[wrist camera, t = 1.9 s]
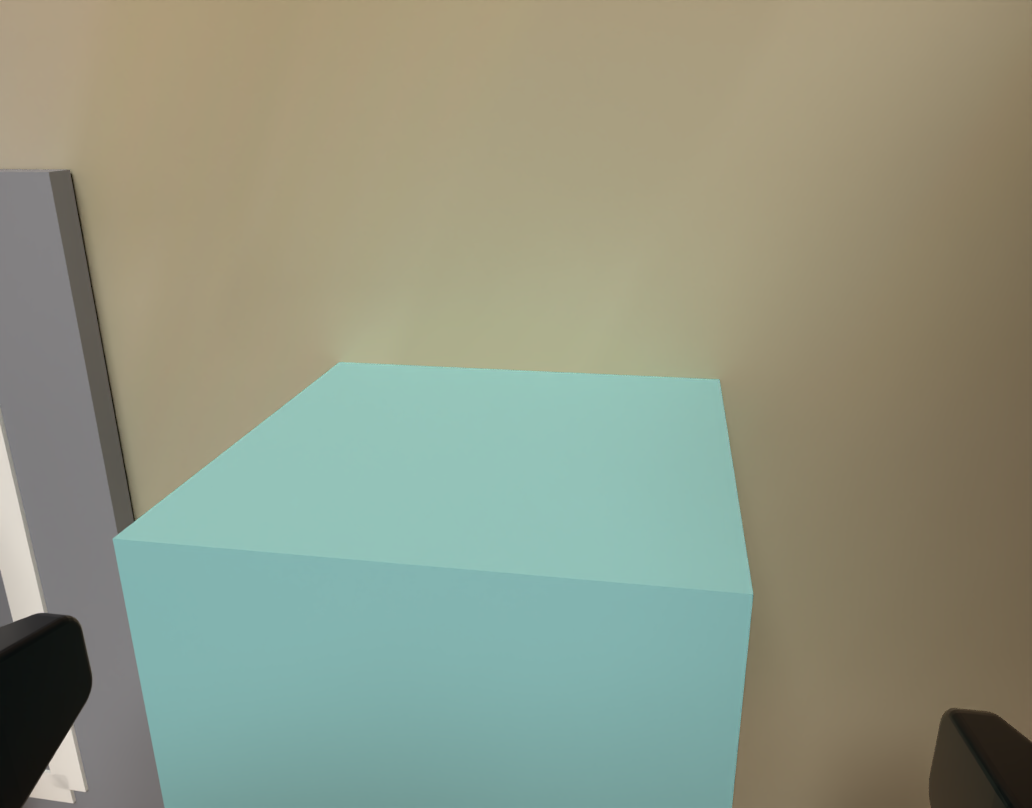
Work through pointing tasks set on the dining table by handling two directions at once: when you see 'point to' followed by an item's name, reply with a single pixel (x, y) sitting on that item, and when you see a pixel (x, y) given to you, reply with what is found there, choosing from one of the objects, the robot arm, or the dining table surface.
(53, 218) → the mat
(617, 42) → the dining table surface
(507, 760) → the teal cube
